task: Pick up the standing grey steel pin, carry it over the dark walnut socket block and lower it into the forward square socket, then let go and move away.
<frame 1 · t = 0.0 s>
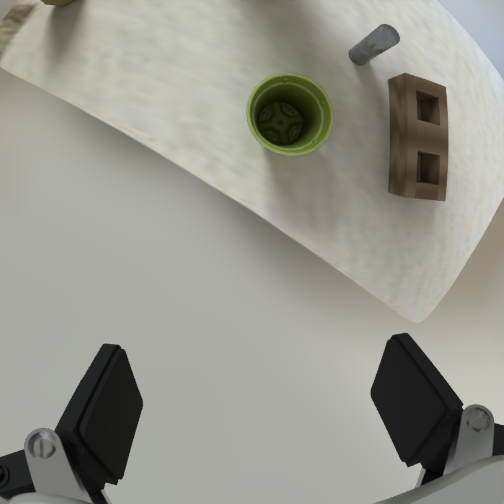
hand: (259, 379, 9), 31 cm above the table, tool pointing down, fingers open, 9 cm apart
pin: (358, 56, 31), on the table
socket block: (410, 138, 36), on the table
plant pot: (279, 123, 35), on the table
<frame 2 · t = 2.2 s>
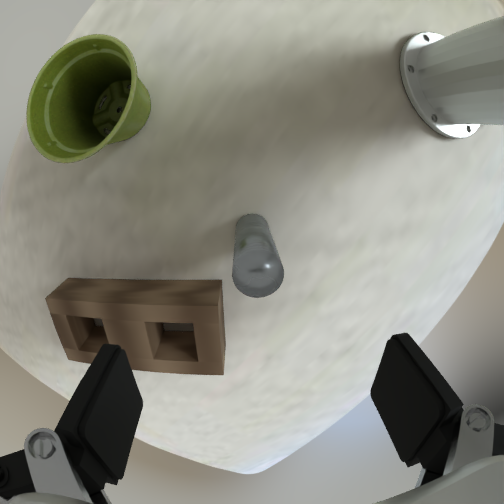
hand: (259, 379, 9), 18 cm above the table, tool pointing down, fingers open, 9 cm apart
pin: (252, 229, 26), on the table
socket block: (142, 312, 28), on the table
plant pot: (122, 109, 22), on the table
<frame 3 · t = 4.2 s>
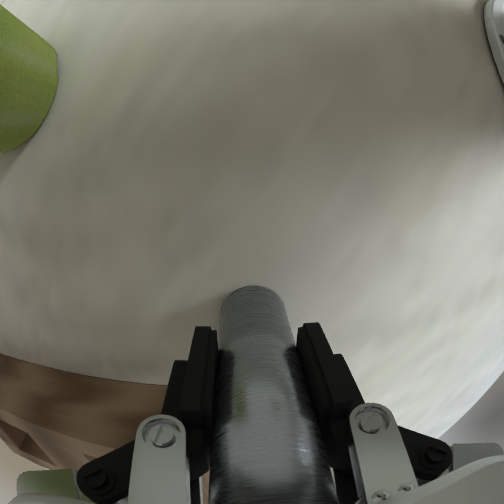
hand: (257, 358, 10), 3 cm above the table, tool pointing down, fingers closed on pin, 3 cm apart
pin: (253, 314, 13), on the table, touching gripper
socket block: (89, 410, 15), on the table
plant pot: (22, 93, 9), on the table
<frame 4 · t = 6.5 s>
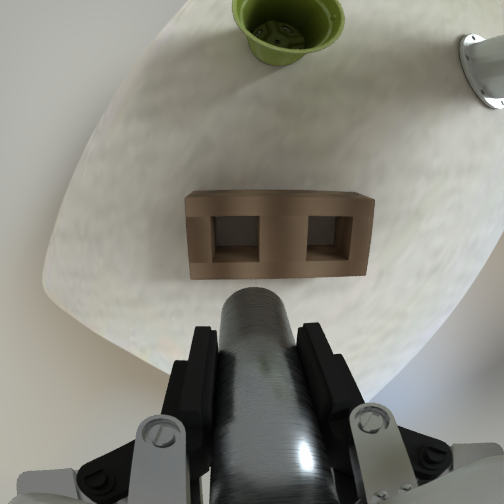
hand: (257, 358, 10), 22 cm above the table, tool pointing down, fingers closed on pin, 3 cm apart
pin: (253, 315, 13), point 19 cm above the table, touching gripper
socket block: (277, 226, 31), on the table
plant pot: (277, 43, 24), on the table
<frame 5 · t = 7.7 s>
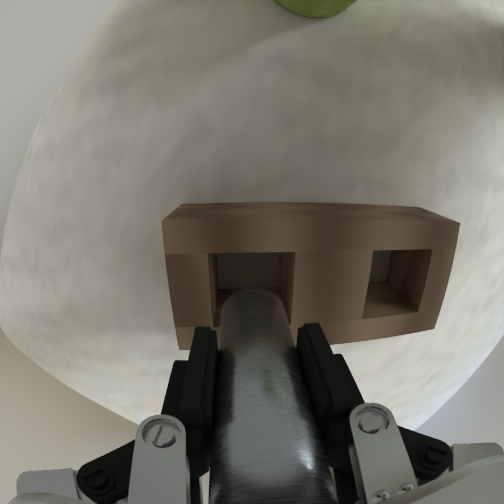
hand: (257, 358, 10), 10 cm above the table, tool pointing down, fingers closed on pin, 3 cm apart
pin: (253, 316, 13), point 7 cm above the table, touching gripper
socket block: (311, 258, 20), on the table
when the fingers open (7 cm above the table, at t = 8.7 s): pin drops 4 cm, resting in socket block.
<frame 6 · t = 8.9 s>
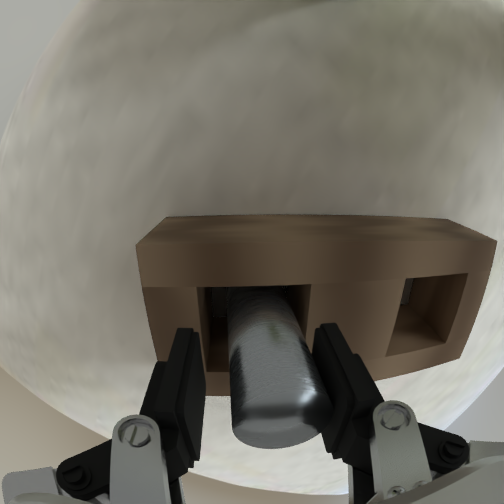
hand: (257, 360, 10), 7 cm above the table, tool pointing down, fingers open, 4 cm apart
pin: (252, 282, 16), resting in socket block, touching gripper
socket block: (324, 280, 16), on the table
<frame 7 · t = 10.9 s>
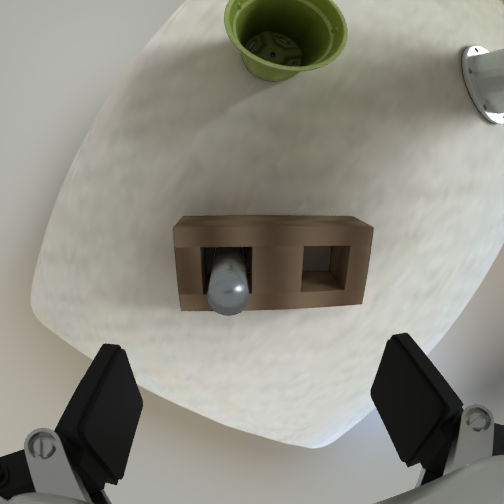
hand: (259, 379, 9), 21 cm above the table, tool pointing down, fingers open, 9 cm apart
pin: (229, 253, 29), resting in socket block
socket block: (270, 252, 30), on the table
plant pot: (272, 56, 23), on the table
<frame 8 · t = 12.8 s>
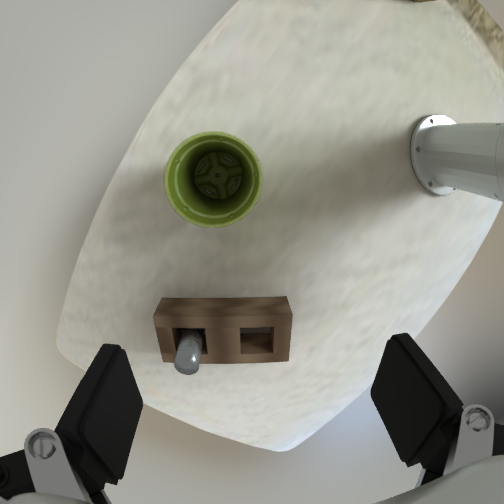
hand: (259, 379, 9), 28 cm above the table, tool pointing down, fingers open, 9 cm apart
pin: (195, 321, 41), resting in socket block
socket block: (224, 321, 41), on the table
plant pot: (218, 174, 34), on the table
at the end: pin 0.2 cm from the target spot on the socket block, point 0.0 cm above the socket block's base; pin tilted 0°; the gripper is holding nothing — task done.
